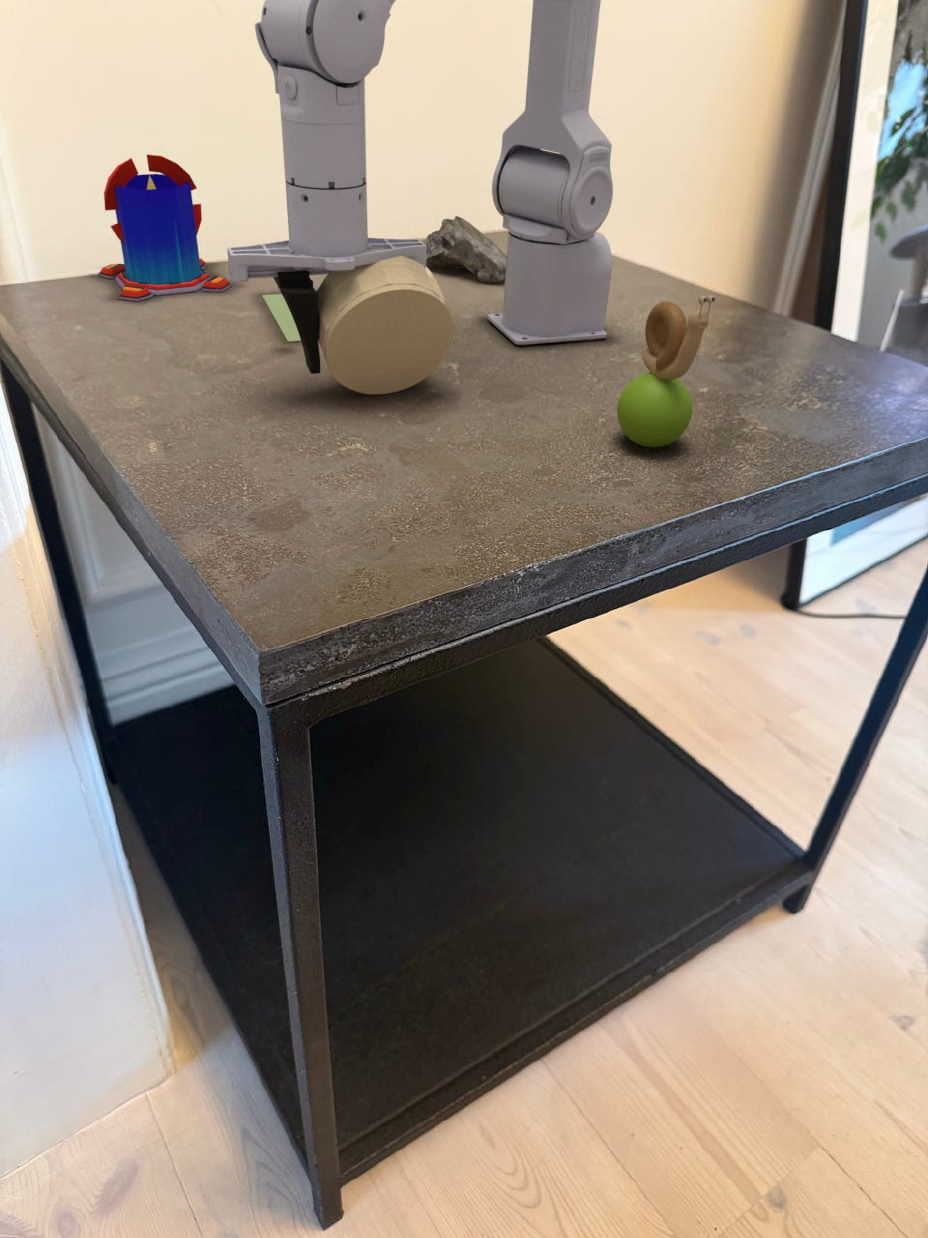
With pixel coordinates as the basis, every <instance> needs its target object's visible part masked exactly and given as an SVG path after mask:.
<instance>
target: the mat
mask: <svg viewBox="0 0 928 1238" xmlns="http://www.w3.org/2000/svg"><path fill="white" fill-rule="evenodd" d="M261 296H262V299H263V300H264V302H265V304H266V305H267V307H268V309H269V311H270V312H271V314H272V316H273V318H274V320H275V321H276V323H277V325H278V327H279V328H280V330H281V332H282V334H283V336H284V338H285V339H286V341H287V342H288V343H291V342H292V343H293V342H301V339H300V336H299V333H298V330H297V327H296V324H295V322H294V319H293V317H292V314H291V312H290V310H289V308H288V306H287V303H286V301H285V299H284V297H283V295H282V293H278V294H277V293H273V294H262V295H261Z"/></svg>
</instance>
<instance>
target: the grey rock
mask: <svg viewBox="0 0 928 1238" xmlns="http://www.w3.org/2000/svg"><path fill="white" fill-rule="evenodd" d="M422 242H423V243H424V244H425V245H426V246H427V251H426V262H428V263H431V264H434V265H437V266H441V267H446V268H456V269H458V268H460V269H461V268H466V269H467V271H470V273H471V274H473V275H475V276H476V277H477V280H478V281H480V282H481V283H489V284H490V283H491V284H492V283H495V282H497V283H499V282H503V281H504V280H505V274H506V259H507V254H506V253H504V251H503V250H502V249H501V248H500V247H499V246H497V244H495V242H493V240H491V238H488V236H487V237H486V235H484V233H482V232H481V231H480V230H479V229H478V228H476V227H475V226H474V225H473V224H471V223H470V222H469V221H467V220H466V219H465V218H463V217H460V216H457V215H455V216H454V219H451V218H443V220H442V221H441V226H440V228H439V230H435V231H433V232H432V233H429V234H428V235H426V238H424V240H423V241H422Z"/></svg>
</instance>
